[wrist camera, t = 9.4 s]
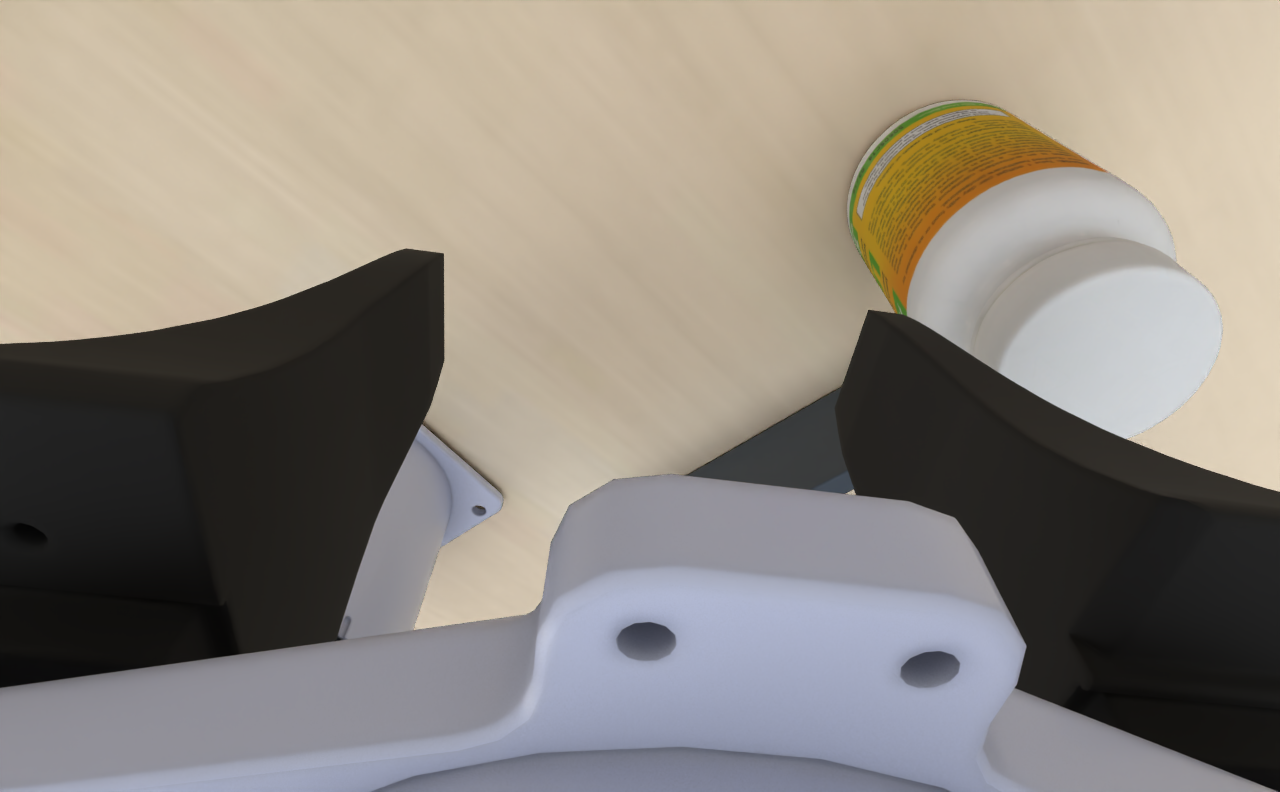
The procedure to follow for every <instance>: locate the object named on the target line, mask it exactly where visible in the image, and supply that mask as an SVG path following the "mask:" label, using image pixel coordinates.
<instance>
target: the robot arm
mask: <svg viewBox="0 0 1280 792" xmlns="http://www.w3.org/2000/svg"><path fill="white" fill-rule="evenodd" d="M443 363H444V253H436V252H428V251H421V250H413V249H403V250H399V251H396V252H394V253H391V254H389V255H386V256H384V257H381V258H379V259H377V260H375V261H372V262H370V263H368V264H366V265H364V266H361V267H359V268H357V269H355V270H353V271H350V272H348V273H346V274H344V275H341V276H339V277H337V278H335V279H332V280H330V281H328V282H325V283H323V284H320V285H317V286H315V287H312V288H310V289H307V290H305V291H302V292H299V293H297V294H294V295H292V296H289V297H287V298H284V299H281V300H278V301H275V302H272V303H269V304H266V305H263V306H260V307H257V308H253V309H250V310H246V311H242V312H239V313H235V314H231V315H228V316H224V317H220V318H216V319H211V320H206V321H201V322H196V323H191V324H185V325H180V326H175V327H170V328H165V329H160V330H154V331H148V332H141V333H134V334H126V335H118V336H111V337H101V338H91V339H81V340H69V341H56V342H36V343H12V344H0V792H1280V492H1278V491H1274V490H1270V489H1267V488H1263V487H1260V486H1256V485H1253V484H1249V483H1246V482H1243V481H1240V480H1237V479H1234V478H1231V477H1228V476H1225V475H1221V474H1218V473H1215V472H1212V471H1209V470H1206V469H1203V468H1200V467H1197V466H1194V465H1192V464H1189V463H1186V462H1183V461H1180V460H1178V459H1175V458H1172V457H1169V456H1167V455H1164V454H1162V453H1159V452H1157V451H1154V450H1152V449H1149V448H1147V447H1144V446H1142V445H1139V444H1137V443H1134V442H1132V441H1129V440H1127V439H1124V438H1122V437H1120V436H1117V435H1115V434H1113V433H1111V432H1108V431H1106V430H1104V429H1102V428H1100V427H1097V426H1095V425H1093V424H1091V423H1089V422H1087V421H1085V420H1083V419H1081V418H1079V417H1077V416H1075V415H1073V414H1071V413H1069V412H1067V411H1065V410H1063V409H1061V408H1059V407H1057V406H1055V405H1053V404H1052V403H1050V402H1048V401H1046V400H1044V399H1042V398H1041V397H1039V396H1037V395H1036V394H1034V393H1032V392H1030V391H1029V390H1027V389H1025V388H1024V387H1022V386H1020V385H1018V384H1017V383H1015V382H1013V381H1012V380H1010V379H1008V378H1007V377H1005V376H1004V375H1002V374H1000V373H999V372H997V371H995V370H994V369H992V368H991V367H989V366H988V365H986V364H985V363H983V362H981V361H980V360H978V359H977V358H975V357H974V356H972V355H971V354H969V353H968V352H966V351H965V350H963V349H962V348H960V347H959V346H957V345H955V344H954V343H952V342H951V341H949V340H948V339H946V338H945V337H943V336H942V335H940V334H938V333H937V332H935V331H934V330H932V329H930V328H929V327H927V326H925V325H924V324H922V323H920V322H918V321H916V320H914V319H912V318H910V317H908V316H906V315H903V314H896V313H888V312H881V311H873V310H868V313H867V316H866V318H865V321H864V324H863V327H862V330H861V333H860V336H859V339H858V342H857V345H856V347H855V350H854V353H853V356H852V359H851V362H850V365H849V368H848V371H847V373H846V376H845V379H844V382H843V385H842V388H841V391H840V394H839V397H838V399H837V402H836V405H835V415H836V421H837V428H838V434H839V440H840V445H841V450H842V455H843V458H844V461H845V464H846V467H847V470H848V473H849V476H850V479H851V482H852V485H853V488H854V490H855V493H856V495H849V494H841V493H832V492H823V491H815V490H806V489H797V488H788V487H780V486H771V485H762V484H753V483H745V482H736V481H727V480H719V479H710V478H701V477H692V476H684V475H675V474H667V475H655V476H644V477H633V478H622V479H613V480H612V481H610V482H608V483H606V484H605V485H603V486H601V487H600V488H598V489H596V490H594V491H593V492H591V493H589V494H588V495H586V496H584V497H583V498H581V499H579V500H577V501H576V502H574V503H572V504H571V505H569V507H568V509H567V511H566V513H565V515H564V517H563V519H562V521H561V523H560V525H559V527H558V529H557V531H556V533H555V535H554V537H553V539H552V541H551V545H550V552H549V559H548V565H547V572H546V579H545V585H544V592H543V598H542V601H541V602H540V604H539V605H538V606H537V608H536V609H535V610H534V611H532V612H530V613H528V614H526V615H519V616H512V617H505V618H498V619H490V620H483V621H476V622H469V623H462V624H455V625H448V626H440V627H433V628H426V629H419V630H414V626H415V623H416V620H417V617H418V614H419V611H420V608H421V605H422V602H423V599H424V596H425V592H426V589H427V586H428V583H429V580H430V577H431V574H432V571H433V568H434V565H435V562H436V558H437V555H438V552H439V549H440V548H441V547H442V546H444V545H445V544H447V543H449V542H450V541H452V540H453V539H455V538H457V537H458V536H460V535H462V534H463V533H465V532H466V531H468V530H470V529H471V528H473V527H474V526H476V525H478V524H479V523H481V522H483V521H484V520H486V519H487V518H489V517H491V516H492V515H494V514H495V513H497V512H498V511H500V510H501V508H502V504H503V500H504V499H503V496H502V494H501V493H500V492H499V491H498V490H497V489H495V488H494V487H493V486H492V485H491V484H490V483H489V482H487V481H486V480H485V479H484V478H483V477H482V476H481V475H479V474H478V473H477V472H476V471H475V470H474V469H473V468H471V467H470V466H469V465H468V464H467V463H466V462H465V461H463V460H462V459H461V458H460V457H459V456H458V455H457V454H455V453H454V452H453V451H452V450H451V449H450V448H449V447H447V446H446V445H445V444H444V443H443V442H442V441H441V440H439V439H438V438H437V437H436V436H435V435H434V434H433V433H431V432H430V431H429V430H428V429H427V428H426V427H425V426H423V425H422V423H423V421H424V418H425V416H426V414H427V412H428V410H429V408H430V406H431V403H432V400H433V396H434V393H435V390H436V387H437V384H438V380H439V377H440V373H441V370H442V367H443ZM477 505H478V506H482V507H484V509H479V508H477V507H476V506H477Z"/></svg>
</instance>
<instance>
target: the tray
mask: <svg viewBox="0 0 1280 792" xmlns="http://www.w3.org/2000/svg"><path fill="white" fill-rule="evenodd" d="M841 388H842V387H841ZM841 388H839V389H837V390H836V391H834V392H832V393H830V394H829V395H827V396H825V397H823V398H822V399H820V400H818V401H816V402H815V403H813V404H811V405H809V406H808V407H806V408H804V409H802V410H801V411H799V412H797V413H795V414H794V415H792V416H790V417H788V418H787V419H785V420H783V421H781V422H780V423H778V424H776V425H774V426H773V427H771V428H769V429H767V430H766V431H764V432H762V433H760V434H759V435H757V436H755V437H753V438H752V439H750V440H748V441H746V442H745V443H743V444H741V445H739V446H738V447H736V448H734V449H732V450H731V451H729V452H727V453H726V454H724V455H722V456H720V457H719V458H717V459H715V460H713V461H712V462H710V463H708V464H706V465H705V466H703V467H701V468H699V469H698V470H696V471H694V472H692V473H691V474H689V475H687V476H692V477H701V478H710V479H719V480H727V481H736V482H745V483H753V484H762V485H771V486H780V487H788V488H797V489H806V490H815V491H823V492H832V493H841V494H845V493H847V492H849V491H851V490H853V489H854V488H853V485H852V482H851V479H850V476H849V473H848V470H847V467H846V464H845V461H844V458H843V455H842V450H841V445H840V440H839V434H838V428H837V421H836V415H835V405H836V402H837V399H838V397H839V394H840V391H841Z"/></svg>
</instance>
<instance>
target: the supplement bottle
mask: <svg viewBox="0 0 1280 792" xmlns="http://www.w3.org/2000/svg"><path fill="white" fill-rule="evenodd" d="M847 219H848V225H849V230H850V233H851V236H852V239H853V241H854V244H855V246H856V248H857V250H858V252H859V254H860V255H861V257H862V258H863V260H864V262H865V263H866V265H867V267H868V268H869V270H870V272H871V273H872V275H873V277H874V278H875V280H876V281H877V283H878V285H879V286H880V288H881V289H882V291H883V293H884V294H885V296H886V298H887V299H888V301H889V303H890V304H891V306H892V308H893V309H894V311H895V313H896V314H903V315H906V316H908V317H910V318H912V319H914V320H916V321H918V322H920V323H922V324H924V325H925V326H927V327H929V328H930V329H932V330H934V331H935V332H937V333H938V334H940V335H942V336H943V337H945V338H946V339H948V340H949V341H951V342H952V343H954V344H955V345H957V346H959V347H960V348H962V349H963V350H965V351H966V352H968V353H969V354H971V355H972V356H974V357H975V358H977V359H978V360H980V361H981V362H983V363H985V364H986V365H988V366H989V367H991V368H992V369H994V370H995V371H997V372H999V373H1000V374H1002V375H1004V376H1005V377H1007V378H1008V379H1010V380H1012V381H1013V382H1015V383H1017V384H1018V385H1020V386H1022V387H1024V388H1025V389H1027V390H1029V391H1030V392H1032V393H1034V394H1036V395H1037V396H1039V397H1041V398H1042V399H1044V400H1046V401H1048V402H1050V403H1052V404H1053V405H1055V406H1057V407H1059V408H1061V409H1063V410H1065V411H1067V412H1069V413H1071V414H1073V415H1075V416H1077V417H1079V418H1081V419H1083V420H1085V421H1087V422H1089V423H1091V424H1093V425H1095V426H1097V427H1100V428H1102V429H1104V430H1106V431H1108V432H1111V433H1113V434H1115V435H1117V436H1120V437H1122V438H1124V439H1127V438H1130V437H1133V436H1135V435H1137V434H1140V433H1142V432H1144V431H1146V430H1148V429H1150V428H1151V427H1153V426H1155V425H1156V424H1158V423H1159V422H1161V421H1163V420H1164V419H1166V418H1167V417H1169V416H1170V415H1171V414H1172V413H1174V412H1175V411H1176V410H1177V409H1179V408H1180V407H1181V406H1182V405H1183V404H1184V403H1185V402H1186V401H1187V400H1188V399H1189V398H1190V397H1191V396H1192V395H1193V394H1194V393H1195V392H1196V391H1197V390H1198V388H1199V387H1200V386H1201V384H1202V383H1203V382H1204V380H1205V379H1206V377H1207V376H1208V374H1209V372H1210V370H1211V368H1212V366H1213V364H1214V363H1215V361H1216V358H1217V356H1218V353H1219V349H1220V346H1221V340H1222V333H1223V327H1222V316H1221V313H1220V310H1219V307H1218V304H1217V302H1216V300H1215V298H1214V297H1213V295H1212V294H1211V293H1210V291H1209V290H1208V289H1207V287H1206V286H1205V285H1203V284H1202V283H1201V282H1200V281H1199V280H1198V279H1197V278H1195V277H1194V276H1193V275H1191V274H1190V273H1189V272H1187V271H1186V270H1185V269H1183V268H1182V267H1181V266H1179V265H1178V264H1177V263H1176V253H1175V246H1174V242H1173V238H1172V235H1171V232H1170V230H1169V227H1168V225H1167V224H1166V222H1165V220H1164V218H1163V217H1162V215H1161V214H1160V212H1159V211H1158V210H1157V208H1156V207H1155V206H1154V205H1153V203H1152V202H1151V201H1149V200H1148V199H1147V198H1146V197H1145V196H1144V195H1143V194H1141V193H1140V192H1139V191H1138V190H1136V189H1135V188H1133V187H1132V186H1130V185H1129V184H1127V183H1126V182H1124V181H1123V180H1121V179H1119V178H1118V177H1116V176H1115V175H1113V174H1111V173H1109V172H1108V171H1106V170H1104V169H1103V168H1101V167H1099V166H1098V165H1096V164H1094V163H1093V162H1091V161H1089V160H1088V159H1086V158H1084V157H1083V156H1081V155H1079V154H1078V153H1076V152H1074V151H1073V150H1071V149H1070V148H1068V147H1066V146H1065V145H1063V144H1061V143H1060V142H1058V141H1056V140H1055V139H1053V138H1051V137H1050V136H1048V135H1046V134H1045V133H1043V132H1042V131H1040V130H1038V129H1037V128H1035V127H1033V126H1032V125H1030V124H1028V123H1027V122H1025V121H1023V120H1022V119H1020V118H1018V117H1017V116H1015V115H1013V114H1011V113H1009V112H1008V111H1006V110H1004V109H1002V108H1000V107H997V106H995V105H992V104H988V103H985V102H980V101H973V100H952V101H945V102H939V103H935V104H932V105H928V106H925V107H923V108H920V109H918V110H916V111H914V112H912V113H910V114H908V115H906V116H904V117H903V118H901V119H900V120H898V121H897V122H896V123H894V124H893V125H892V126H891V127H889V128H888V129H887V130H886V131H885V132H884V133H883V134H882V135H881V136H880V137H879V138H878V139H877V140H876V141H875V142H874V143H873V144H872V145H871V147H870V148H869V149H868V151H867V152H866V154H865V155H864V157H863V158H862V160H861V162H860V163H859V165H858V167H857V169H856V172H855V174H854V177H853V180H852V183H851V186H850V190H849V195H848V202H847Z"/></svg>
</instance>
